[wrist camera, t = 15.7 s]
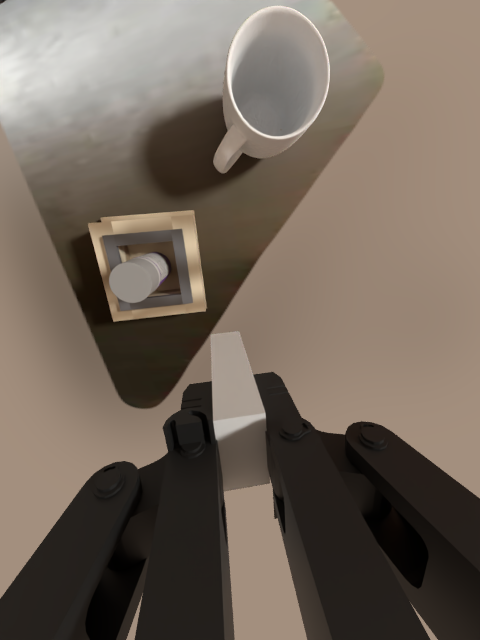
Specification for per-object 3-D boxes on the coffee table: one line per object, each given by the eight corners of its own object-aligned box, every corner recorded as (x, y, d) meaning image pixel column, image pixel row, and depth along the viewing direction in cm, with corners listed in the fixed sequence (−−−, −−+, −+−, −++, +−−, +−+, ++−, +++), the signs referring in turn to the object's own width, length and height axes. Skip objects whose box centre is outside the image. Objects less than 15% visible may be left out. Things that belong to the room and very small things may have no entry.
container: (148, 284, 43) (118, 309, 28) (137, 256, 41) (100, 267, 27) (175, 276, 43) (159, 297, 29) (165, 248, 41) (143, 256, 27)
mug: (241, 204, 41) (256, 192, 29) (187, 150, 38) (177, 110, 26) (306, 126, 39) (352, 76, 27) (254, 60, 36) (279, -31, 23)
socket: (103, 218, 40) (82, 214, 33) (193, 210, 41) (191, 206, 34) (126, 315, 45) (113, 329, 38) (206, 306, 46) (206, 318, 40)
